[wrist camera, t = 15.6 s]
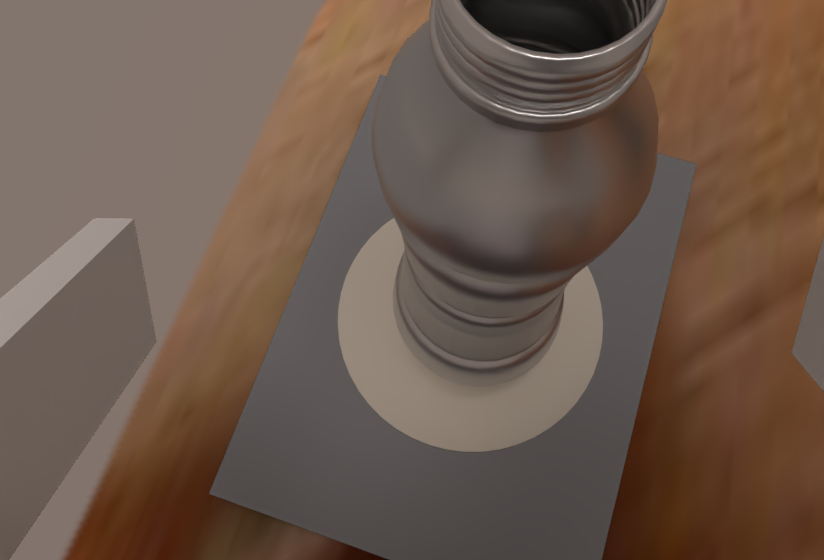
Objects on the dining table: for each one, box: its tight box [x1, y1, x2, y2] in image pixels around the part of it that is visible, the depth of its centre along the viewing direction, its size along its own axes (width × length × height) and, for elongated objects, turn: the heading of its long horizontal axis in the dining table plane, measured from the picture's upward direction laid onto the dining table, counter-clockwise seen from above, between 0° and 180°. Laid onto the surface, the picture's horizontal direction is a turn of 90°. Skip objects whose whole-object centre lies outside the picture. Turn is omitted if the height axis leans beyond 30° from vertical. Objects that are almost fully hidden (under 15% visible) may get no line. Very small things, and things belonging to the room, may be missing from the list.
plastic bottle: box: [371, 0, 667, 387], centre depth 20 cm, size 6×7×20 cm
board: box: [209, 75, 696, 560], centre depth 31 cm, size 20×15×2 cm
